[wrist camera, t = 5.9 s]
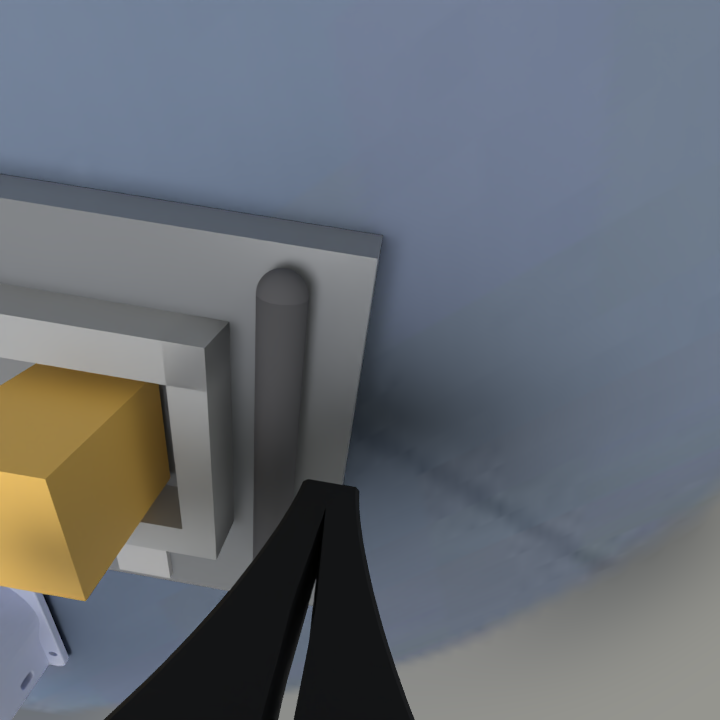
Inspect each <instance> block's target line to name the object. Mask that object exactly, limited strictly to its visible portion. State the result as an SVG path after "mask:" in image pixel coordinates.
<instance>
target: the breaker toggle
mask: <svg viewBox="0 0 720 720" xmlns="http://www.w3.org/2000/svg"><path fill="white" fill-rule="evenodd" d="M169 479H170V471H169V463H168V455H167V447H166V439H165V431H164V423H163V415H162V407H161V399H160V391H159V384H155V383H149V382H143V381H138V380H132V379H126V378H120V377H114V376H108V375H102V374H96V373H90V372H84V371H78V370H73V369H67V368H61V367H55V366H49V365H43V364H37V363H36V364H34V365H33V366H31V367H29V368H28V369H26V370H25V371H23V372H21V373H20V374H18V375H16V376H15V377H13V378H12V379H10V380H8V381H7V382H5V383H4V384H2V385H0V586H3V587H9V588H15V589H20V590H26V591H31V592H37V593H42V594H48V595H53V596H59V597H65V598H70V599H76V600H81V601H86V600H87V599H88V597H89V596H90V594H91V593H92V592H93V590H94V589H95V587H96V586H97V584H98V583H99V581H100V580H101V578H102V577H103V575H104V574H105V573H106V571H107V570H108V568H109V567H110V565H111V564H112V562H113V561H114V559H115V558H116V557H117V555H118V554H119V552H120V551H121V549H122V548H123V546H124V545H125V543H126V542H127V540H128V539H129V538H130V536H131V535H132V533H133V532H134V530H135V529H136V527H137V526H138V524H139V523H140V522H141V520H142V519H143V517H144V516H145V514H146V513H147V511H148V510H149V508H150V507H151V505H152V504H153V503H154V501H155V500H156V498H157V497H158V495H159V494H160V492H161V491H162V489H163V488H164V487H165V485H166V484H167V482H168V481H169Z"/></svg>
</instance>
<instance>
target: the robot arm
mask: <svg viewBox="0 0 720 720" xmlns="http://www.w3.org/2000/svg"><path fill="white" fill-rule="evenodd" d="M315 580H316V583H315ZM314 584H315V593H314V602H313V611H312V620H311V629H310V638H309V645H308V650H307V655H306V660H305V665H304V671H303V676H302V681H301V686H300V691H299V696H298V701H297V706H296V711H295V716H294V720H414V717H413V715H412V712H411V709H410V707H409V704H408V702H407V699H406V696H405V693H404V690H403V687H402V685H401V682H400V679H399V676H398V673H397V670H396V667H395V664H394V661H393V658H392V655H391V652H390V649H389V646H388V642H387V639H386V636H385V633H384V629H383V626H382V622H381V619H380V615H379V611H378V607H377V604H376V600H375V596H374V592H373V588H372V583H371V579H370V575H369V570H368V565H367V560H366V555H365V550H364V544H363V538H362V530H361V522H360V511H359V490H358V489H357V488H356V487H352V486H346V485H340V484H335V483H329V482H323V481H317V480H311V479H307V480H305V481H303V482H302V485H301V487H300V489H299V491H298V493H297V495H296V497H295V498H294V500H293V502H292V504H291V505H290V507H289V509H288V510H287V512H286V514H285V515H284V517H283V518H282V520H281V522H280V523H279V525H278V526H277V528H276V529H275V530H274V532H273V533H272V535H271V536H270V538H269V539H268V540H267V542H266V543H265V545H264V546H263V548H262V549H261V550H260V552H259V553H258V555H257V556H256V557H255V559H254V560H253V561H252V562H251V564H250V565H249V566H248V567H247V569H246V570H245V571H244V573H243V574H242V575H241V576H240V578H239V579H238V580H237V582H236V583H235V584H234V585H233V587H232V588H231V589H230V590H229V591H228V593H227V594H226V595H225V596H224V597H223V599H222V600H221V601H220V602H219V603H218V604H217V606H216V607H215V608H214V609H213V610H212V611H211V612H210V614H209V615H208V616H207V617H206V618H205V619H204V620H203V621H202V623H201V624H200V625H199V626H198V627H197V628H196V629H195V630H194V631H193V632H192V633H191V634H190V636H189V637H188V638H187V639H186V640H185V641H184V642H183V643H182V644H181V645H180V646H179V647H178V648H177V649H176V650H175V651H174V652H173V653H172V654H171V655H170V657H169V658H168V659H167V660H166V661H165V662H164V663H163V664H162V665H161V666H160V667H159V668H158V669H157V670H156V671H155V672H154V673H153V674H152V675H151V676H150V677H149V678H148V679H147V680H146V681H145V682H143V683H142V684H141V685H140V686H139V687H138V688H137V689H136V690H135V691H134V692H133V693H132V694H131V695H130V696H129V697H128V698H126V699H125V700H124V701H123V702H122V703H121V704H120V705H119V706H118V707H117V708H116V709H115V710H114V711H113V712H112V713H110V714H109V715H108V716H107V717H106V718H105V719H104V720H278V718H279V713H280V708H281V703H282V699H283V695H284V691H285V687H286V683H287V679H288V675H289V672H290V668H291V665H292V661H293V658H294V654H295V651H296V647H297V644H298V640H299V637H300V633H301V630H302V626H303V623H304V619H305V616H306V612H307V609H308V605H309V602H310V598H311V595H312V591H313V587H314ZM68 659H69V656H68V654H67V652H66V649H65V647H64V644H63V642H62V640H61V637H60V635H59V632H58V630H57V628H56V625H55V623H54V620H53V618H52V615H51V613H50V611H49V608H48V606H47V603H46V601H45V599H44V596H43V594H42V593H37V592H31V591H26V590H20V589H15V588H9V587H3V586H0V720H12V719H13V717H14V716H15V714H16V713H17V711H18V710H19V708H20V707H21V705H22V704H23V702H24V701H25V699H26V698H27V696H28V695H29V693H30V692H31V690H32V689H33V687H34V686H35V684H36V683H37V681H38V680H39V678H40V677H41V676H42V674H43V673H44V671H45V670H46V668H47V667H48V665H49V664H50V665H55V666H64V665H65V664H66V662H67V661H68Z"/></svg>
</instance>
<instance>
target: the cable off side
mask: <svg viewBox="0 0 720 720" xmlns="http://www.w3.org/2000/svg"><path fill="white" fill-rule="evenodd" d="M308 307H309V289H308V286H307V283H306V281H305V280H304V279H303V277H302V276H301V275H299V274H298V273H297V272H295V271H293V270H291V269H287V268H276V269H273V270H270V271H269V272H267V273H266V274H264V275H263V276H262V278H261V279H260V281H259V282H258V285H257V288H256V320H255V409H254V498H253V560H254V559H255V557H256V556H257V555H258V553H259V552H260V550H261V549H262V548H263V546H264V545H265V543H266V542H267V540H268V539H269V538H270V536H271V535H272V533H273V532H274V530H275V529H276V528H277V526H278V525H279V523H280V522H281V520H282V518H283V517H284V515H285V514H286V512H287V510H288V509H289V507H290V505H291V504H292V502H293V497H294V484H295V472H296V459H297V446H298V434H299V421H300V409H301V396H302V383H303V371H304V358H305V345H306V333H307V320H308Z"/></svg>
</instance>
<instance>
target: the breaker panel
mask: <svg viewBox="0 0 720 720" xmlns="http://www.w3.org/2000/svg"><path fill="white" fill-rule="evenodd" d="M382 238H383V235H377V234H371V233H364V232H358V231H352V230H346V229H340V228H333V227H327V226H321V225H315V224H308V223H302V222H296V221H290V220H284V219H277V218H271V217H265V216H259V215H252V214H246V213H240V212H234V211H227V210H221V209H215V208H209V207H203V206H196V205H190V204H184V203H178V202H171V201H165V200H159V199H153V198H147V197H140V196H134V195H128V194H122V193H115V192H109V191H103V190H97V189H90V188H84V187H78V186H72V185H66V184H59V183H53V182H47V181H41V180H34V179H28V178H22V177H16V176H10V175H3V174H0V385H2V384H4V383H5V382H7V381H8V380H10V379H12V378H13V377H15V376H16V375H18V374H20V373H21V372H23V371H25V370H26V369H28V368H29V367H31V366H33V365H34V364H36V363H37V364H43V365H49V366H55V367H61V368H67V369H73V370H78V371H84V372H90V373H96V374H102V375H108V376H114V377H120V378H126V379H132V380H138V381H143V382H149V383H155V384H159V391H160V399H161V407H162V415H163V423H164V431H165V439H166V447H167V455H168V463H169V471H170V479H169V481H168V482H167V484H166V485H165V487H164V488H163V489H162V491H161V492H160V494H159V495H158V497H157V498H156V500H155V501H154V503H153V504H152V505H151V507H150V508H149V510H148V511H147V513H146V514H145V516H144V517H143V519H142V520H141V522H140V523H139V524H138V526H137V527H136V529H135V530H134V532H133V533H132V535H131V536H130V538H129V539H128V540H127V542H126V543H125V545H124V546H123V548H122V549H121V551H120V552H119V554H118V555H117V557H116V558H115V559H114V561H113V562H112V564H111V565H110V567H109V568H108V569H109V570H114V571H120V572H125V573H131V574H137V575H142V576H148V577H153V578H159V579H165V580H170V581H176V582H181V583H187V584H193V585H198V586H204V587H209V588H215V589H221V590H226V591H229V590H230V589H231V588H232V587H233V585H234V584H235V583H236V582H237V580H238V579H239V578H240V576H241V575H242V574H243V573H244V571H245V570H246V569H247V567H248V566H249V565H250V564H251V562H252V561H253V498H254V409H255V320H256V288H257V285H258V282H259V281H260V279H261V278H262V276H263V275H264V274H266V273H267V272H269V271H270V270H273V269H276V268H287V269H291V270H293V271H295V272H297V273H298V274H299V275H301V276H302V277H303V279H304V280H305V281H306V283H307V286H308V289H309V307H308V320H307V333H306V345H305V358H304V371H303V383H302V396H301V409H300V421H299V434H298V446H297V459H296V472H295V484H294V497H293V500H294V498H295V497H296V495H297V493H298V491H299V489H300V487H301V485H302V482H303V481H305V480H307V479H311V480H317V481H323V482H329V483H335V484H340V485H343V482H344V476H345V470H346V463H347V457H348V451H349V445H350V438H351V432H352V426H353V420H354V413H355V407H356V401H357V395H358V388H359V382H360V376H361V370H362V363H363V357H364V351H365V345H366V338H367V332H368V326H369V320H370V313H371V307H372V301H373V295H374V288H375V282H376V276H377V270H378V263H379V257H380V251H381V245H382ZM315 583H316V580H315ZM314 593H315V584H314V587H313V591H312V595H311V598H310V602H309V605H310V606H313V602H314Z"/></svg>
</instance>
